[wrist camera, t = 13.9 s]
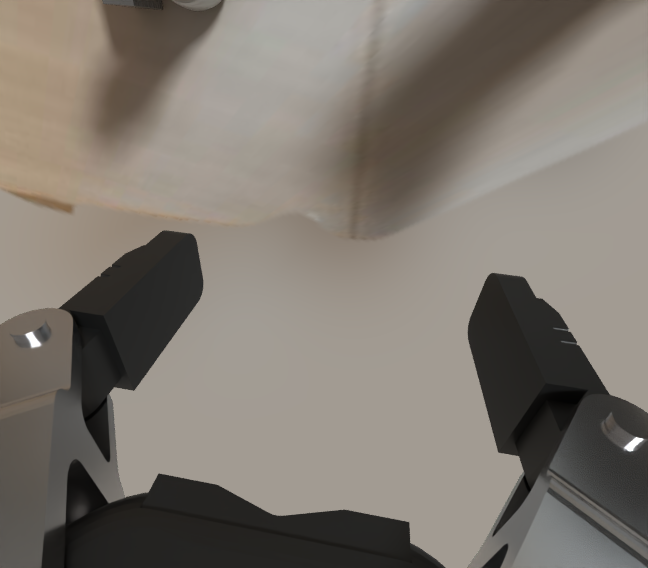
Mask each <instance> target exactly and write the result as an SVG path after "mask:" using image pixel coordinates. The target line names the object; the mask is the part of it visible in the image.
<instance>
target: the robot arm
mask: <svg viewBox="0 0 648 568" xmlns="http://www.w3.org/2000/svg"><path fill="white" fill-rule="evenodd" d="M202 291H203V276H202V271H201V265H200V259H199V253H198V247H197V242H196V239H195V237H194V236H193V235H192V234H189V233H181V232H174V231H162V232H160V233H159V234H158V235H157V236H156V237H155V238H153V239H152V240H151V241H150V242H149V243H148V244H146V245H144V246H141V247H139V248H137V249H135V250H132V251H130V252H128V253H126V254H125V255H123V256H122V257H121V258H120V259H118V260H117V261H116V262H115V263H114V264H112V267H109V268H107V269H106V270H105V271H104V272H103V273H101V276H100V277H99V276H98V277H96V278H95V279H94V280H93V281H91V282H90V283H89V284H88V285H87V286H85V287H84V288H83V289H82V290H81V291H79V292H78V293H77V294H76V295H74V296H73V297H72V298H71V299H70V300H68V301H67V302H66V303H65V304H63V305H62V306H61V307H60V308H59V309H55V308H45V309H38V310H33V311H29V312H26V313H23V314H20V315H18V316H15V317H13V318H11V319H9V320H7V321H5V322H4V323H2V324H1V325H0V568H445V567H444V566H443V565H442V564H441V563H440V562H438V561H437V560H436V559H435V558H433V557H432V556H430V555H429V554H427V553H426V552H425V551H423V550H422V549H420V548H419V547H417V546H415V545H413V544H411V543H410V528H409V522H405V521H400V520H395V519H390V518H385V517H379V516H374V515H369V514H364V513H359V512H353V511H349V510H338V511H327V512H317V513H307V514H297V515H288V516H276V515H272V514H270V513H268V512H266V511H264V510H262V509H261V508H259V507H257V506H255V505H253V504H251V503H249V502H248V501H246V500H244V499H242V498H240V497H238V496H237V495H235V494H233V493H231V492H229V491H227V490H226V489H224V488H222V487H220V486H218V485H215V484H209V483H204V482H199V481H194V480H189V479H184V478H179V477H174V476H169V475H163V474H158V476H157V478H156V480H155V481H154V483H153V485H152V487H151V489H150V491H149V492H148V493H142V494H137V495H133V496H129V497H126V498H125V495H124V492H123V488H122V486H121V482H120V478H119V473H118V465H117V452H116V439H115V424H114V412H113V402H112V399H111V397H110V395H109V393H110V391H111V390H112V389H113V388H114V387H117V388H122V389H128V390H135V389H136V387H137V386H138V385H139V383H140V382H141V380H142V379H143V378H144V376H145V375H146V373H147V372H148V371H149V369H150V368H151V366H152V365H153V364H154V362H155V361H156V360H157V358H158V357H159V355H160V354H161V352H162V351H163V350H164V348H165V347H166V345H167V344H168V343H169V341H170V340H171V339H172V337H173V336H174V335H175V333H176V332H177V330H178V329H179V328H180V326H181V325H182V323H183V322H184V321H185V319H186V318H187V317H188V315H189V314H190V312H191V311H192V310H193V308H194V307H195V305H196V304H197V303H198V301H199V299H200V297H201V295H202ZM468 340H469V344H470V348H471V352H472V355H473V359H474V363H475V367H476V370H477V374H478V378H479V382H480V385H481V389H482V393H483V396H484V400H485V404H486V408H487V411H488V415H489V419H490V422H491V427H492V430H493V434H494V438H495V441H496V445H497V449H498V452H499V453H505V454H510V455H516V456H519V457H520V461H521V463H522V467H523V470H524V472H523V473H522V475H521V476H520V477H519V479H518V481H517V483H516V485H515V487H514V489H513V490H512V492H511V494H510V496H509V498H508V500H507V502H506V503H505V505H504V507H503V509H502V511H501V512H500V514H499V516H498V518H497V520H496V522H495V523H494V525H493V527H492V529H491V531H490V533H489V534H488V536H487V538H486V540H485V542H484V543H483V545H482V547H481V548H480V550H479V551H478V553H477V554H476V556H475V557H474V558H473V560H472V562H471V563H470V564H469V566H468V567H467V568H648V413H647V412H645V411H644V410H642V409H641V408H639V407H637V406H636V405H634V404H632V403H629V402H628V401H626V400H623V399H621V398H618V397H615V396H611V395H610V394H609V393H608V391H607V390H606V388H605V386H604V385H603V383H602V382H601V380H600V379H599V377H598V375H597V374H596V372H595V370H594V369H593V367H592V365H591V364H590V362H589V361H588V359H587V357H586V356H585V354H584V353H583V351H582V349H581V348H580V346H578V345H577V344H576V343H577V341H576V340H575V338H574V337H573V335H572V334H571V332H568V327H567V325H566V324H565V322H564V320H563V319H562V317H561V316H560V314H559V313H558V312H557V311H556V310H555V309H553V308H552V307H551V306H550V305H549V304H548V303H546V302H545V301H544V300H543V299H539V298H536V297H535V295H534V293H533V291H532V290H531V288H530V286H529V284H528V283H527V281H526V279H525V278H523V277H520V276H512V275H504V274H497V273H491V274H490V275H489V276H488V277H487V279H486V281H485V283H484V286H483V288H482V291H481V293H480V295H479V298H478V300H477V303H476V305H475V308H474V310H473V312H472V315H471V317H470V321H469V325H468Z"/></svg>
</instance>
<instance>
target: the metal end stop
mask: <svg viewBox="0 0 648 568" xmlns="http://www.w3.org/2000/svg"><path fill="white" fill-rule="evenodd" d="M102 1H103V4H110V5H118V6H127V7H135V8H147V9H161V10H163V6H162V0H102Z"/></svg>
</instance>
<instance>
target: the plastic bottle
mask: <svg viewBox="0 0 648 568" xmlns="http://www.w3.org/2000/svg"><path fill="white" fill-rule="evenodd" d="M172 1H173V2H175V3H176V4H178V5H180V6H182V7H184V8H187V9H189V10H193V11H204V10H207V9H210V8H212V7H215V6H216V5H217V4H219V3H220V2H221V0H172Z"/></svg>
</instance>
